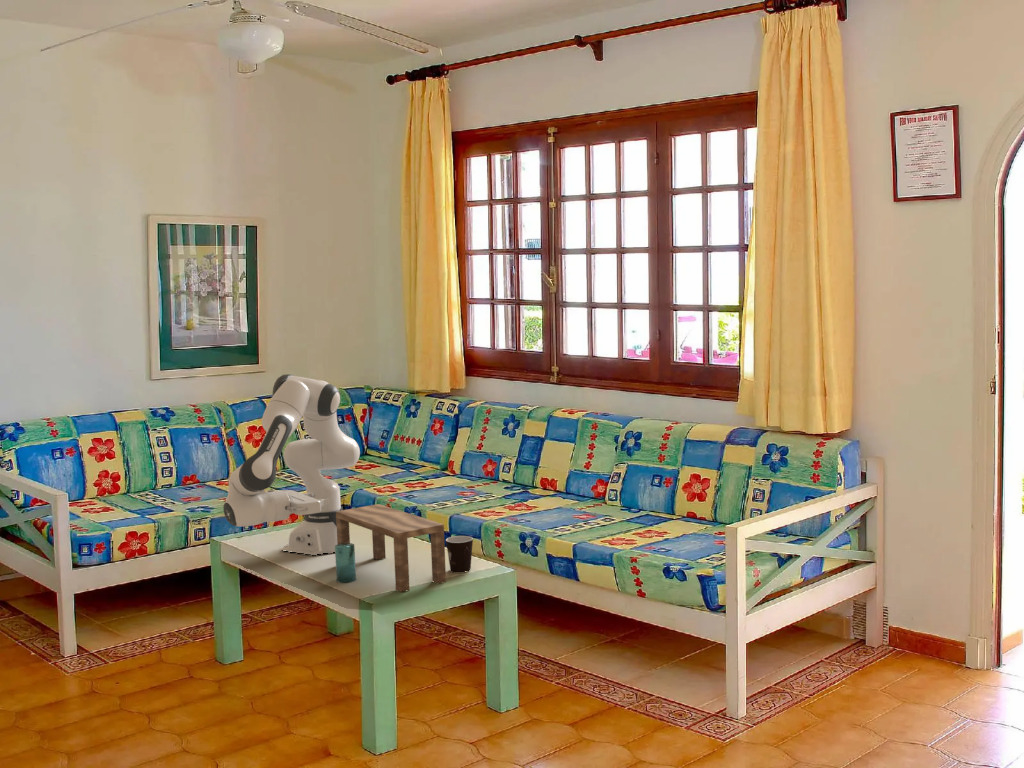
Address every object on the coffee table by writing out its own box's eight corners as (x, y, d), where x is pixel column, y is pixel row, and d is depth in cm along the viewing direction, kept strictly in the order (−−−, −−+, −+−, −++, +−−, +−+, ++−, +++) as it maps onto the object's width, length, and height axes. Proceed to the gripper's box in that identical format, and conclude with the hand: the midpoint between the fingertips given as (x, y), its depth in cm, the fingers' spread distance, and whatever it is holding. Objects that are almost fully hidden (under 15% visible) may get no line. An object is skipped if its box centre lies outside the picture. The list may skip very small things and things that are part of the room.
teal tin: (333, 582, 332) (331, 547, 331) (341, 576, 338) (340, 542, 337) (351, 583, 330) (349, 548, 329) (359, 577, 336) (357, 543, 335)
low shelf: (400, 592, 319) (398, 533, 317) (338, 565, 351) (335, 511, 350) (445, 581, 329) (443, 524, 327) (381, 556, 361) (378, 504, 359)
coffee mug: (448, 566, 346) (447, 536, 345) (474, 566, 346) (473, 535, 345) (444, 576, 334) (443, 545, 333) (472, 576, 334) (471, 544, 333)
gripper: (293, 501, 310) (336, 493, 319) (264, 489, 327) (306, 483, 335) (294, 522, 311) (337, 514, 319) (265, 509, 328) (307, 502, 336)
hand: (321, 498), depth 327 cm, fingers open, 8 cm apart
